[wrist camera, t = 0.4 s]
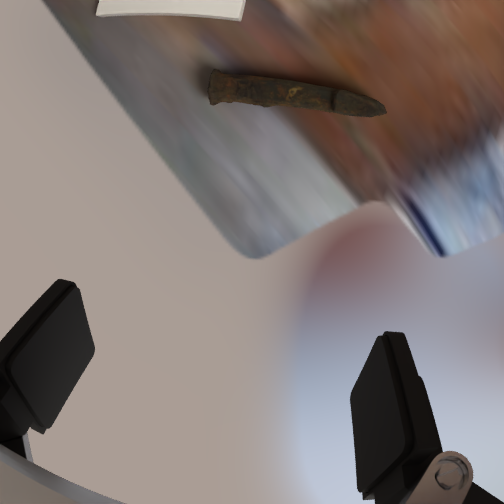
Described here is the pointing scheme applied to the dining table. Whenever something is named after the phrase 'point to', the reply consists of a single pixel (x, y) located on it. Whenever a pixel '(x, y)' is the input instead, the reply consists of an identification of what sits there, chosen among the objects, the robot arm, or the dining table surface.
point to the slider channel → (173, 8)
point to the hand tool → (289, 95)
